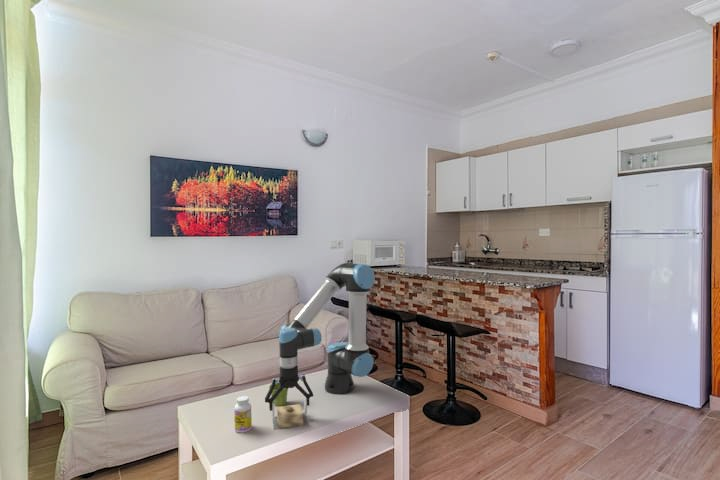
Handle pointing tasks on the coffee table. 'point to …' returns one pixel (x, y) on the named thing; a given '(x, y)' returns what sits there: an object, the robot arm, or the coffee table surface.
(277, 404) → the plant pot
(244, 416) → the supplement bottle
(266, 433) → the coffee table surface
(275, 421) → the mat
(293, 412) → the lid
